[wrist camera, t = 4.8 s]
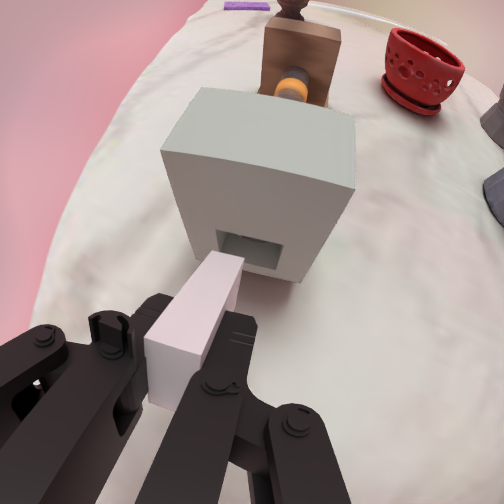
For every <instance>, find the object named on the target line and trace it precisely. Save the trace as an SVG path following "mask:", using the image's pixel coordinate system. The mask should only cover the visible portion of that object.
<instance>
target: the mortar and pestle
mask: <svg viewBox="0 0 504 504" xmlns="http://www.w3.org/2000/svg"><path fill="white" fill-rule="evenodd" d="M277 2H278V3H279V5H280V6H281V7H282V10H281V11H280V12H278V13H277V14H276V15H275V17H280V18H287V19H293V20H299V21H304V17H303V16H302V15H301V14H300V11H301V9H302V8H304V7H306V6H307V4H308V2H309V0H277Z"/></svg>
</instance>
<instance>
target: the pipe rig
mask: <svg viewBox="0 0 504 504" xmlns="http://www.w3.org/2000/svg"><path fill="white" fill-rule="evenodd" d="M340 45H341V32H340V30H339V29H336V28H332V27H328V26H323V25H319V24H314V23H309V22H304V21H299V20H293V19H287V18H280V17H272V19H271V20H270V21H269V22H268V24H267V25H266V26H265V32H264V45H263V59H262V72H261V86H260V88H259V90H258V92H257V94H262V95H268V96H274V97H279V98H284V99H289V100H294V101H299V102H303V103H308V104H312V105H316V106H320V107H324V108H328V94H329V92H328V91H329V88H330V84H331V80H332V76H333V72H334V69H335V65H336V61H337V57H338V53H339V49H340ZM237 235H238V234H237ZM239 236H240V237H242V238H244V239H246V240H249V241H253V242H258V243H267V242H269V241H265V240H260V239H256V238H252V237H247V236H243V235H239Z"/></svg>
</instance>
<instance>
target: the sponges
mask: <svg viewBox="0 0 504 504" xmlns="http://www.w3.org/2000/svg"><path fill="white" fill-rule="evenodd" d="M224 10H263V11H270V7H269V5H268V3H264V2H261V3H260V2H225V3H224Z"/></svg>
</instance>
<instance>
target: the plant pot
mask: <svg viewBox="0 0 504 504" xmlns="http://www.w3.org/2000/svg"><path fill="white" fill-rule="evenodd" d="M413 45H414V46H413ZM424 51H425V52H427V53H428V54H427V53H425V52H424ZM436 57H439V58H440V59H441V60H439V59H437V58H436ZM385 69H386V73H385V74H384V75H383V76H382V79H381V80H382V85H383V87H384V89H385V90H386V92H387V93H388V94H389V95H390V96H391V97H392V98H393V99H394V100H395V101H397V102H398V103H399V104H401V105H403V106H404V107H406V108H408V109H410V110H412V111H414V112H415V113H419V114H424V115H435V114H437V113H438V112H439V111H440V110H441V104H440V103H441V102H443V101H444V100H446V99H447V98H448V97H449V96H450V95H451V94H452V93H453V92H454V90H455V89H456V87H457V86H458V84H459V82H460V80H461V78H462V76H463V74H464V71H465V67H464V65H463V63H462V62H461V61H460V60H459V59H458V58H457V57H456V56H455V55H453V54H452V53H451V52H450V51H448V50H447V49H446V48H444V47H443V46H441V45H439V44H438V43H436V42H434V41H432V40H431V39H429V38H427V37H425V36H423V35H420V34H418V33H415V32H412V31H409V30H405V29H400V28H393V29H392V30H391V32H390V35H389V39H388V42H387V47H386V54H385ZM449 80H452V83H451V84H450V85H449V86H447V82H448V81H449Z"/></svg>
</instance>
